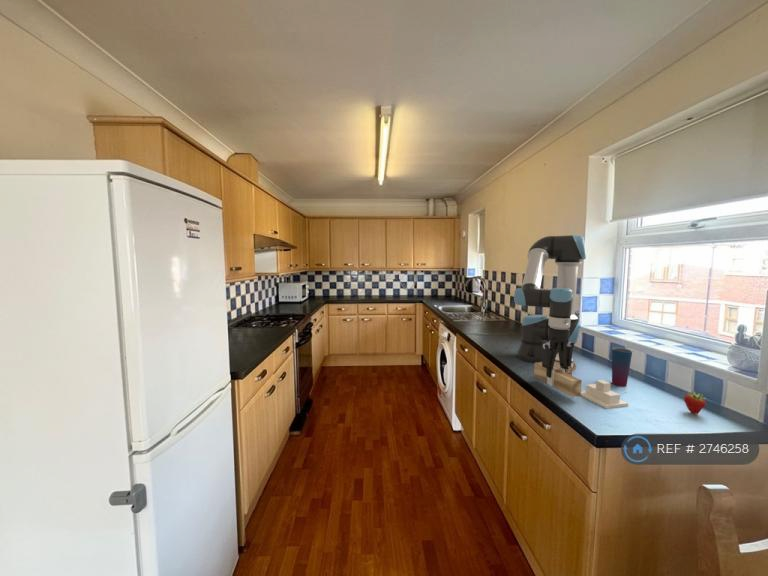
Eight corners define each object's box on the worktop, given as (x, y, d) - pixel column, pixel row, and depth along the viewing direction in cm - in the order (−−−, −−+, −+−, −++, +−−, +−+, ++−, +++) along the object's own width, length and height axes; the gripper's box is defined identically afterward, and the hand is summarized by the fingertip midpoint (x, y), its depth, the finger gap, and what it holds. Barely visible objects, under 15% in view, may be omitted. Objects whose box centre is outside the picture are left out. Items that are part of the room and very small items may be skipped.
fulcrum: (577, 394, 122) (579, 376, 121) (598, 392, 124) (600, 375, 123) (605, 408, 110) (607, 389, 110) (628, 405, 112) (629, 387, 112)
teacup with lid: (559, 382, 134) (560, 356, 132) (544, 374, 142) (546, 349, 141) (583, 380, 136) (584, 354, 135) (567, 373, 145) (568, 348, 144)
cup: (632, 388, 128) (636, 352, 127) (614, 386, 130) (617, 351, 128) (623, 381, 135) (626, 348, 134) (606, 380, 136) (608, 347, 135)
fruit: (699, 418, 104) (702, 395, 103) (679, 411, 109) (681, 389, 108) (707, 415, 106) (709, 393, 105) (687, 408, 111) (689, 387, 110)
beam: (571, 396, 114) (572, 381, 114) (533, 376, 134) (534, 362, 133) (580, 395, 115) (581, 379, 115) (542, 375, 135) (542, 361, 134)
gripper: (547, 330, 116) (543, 390, 119) (585, 328, 120) (581, 386, 123) (533, 326, 124) (530, 382, 126) (569, 324, 127) (566, 378, 130)
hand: (555, 384), depth 124 cm, fingers closed on beam, 4 cm apart
